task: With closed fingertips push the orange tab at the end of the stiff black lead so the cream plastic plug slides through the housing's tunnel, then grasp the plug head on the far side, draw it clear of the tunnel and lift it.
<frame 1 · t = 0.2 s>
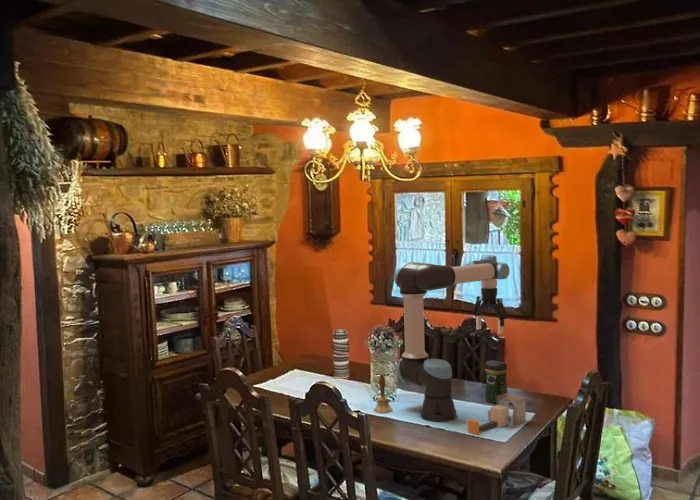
hand: (489, 331, 322), 28 cm above the table, fingers open, 13 cm apart
hand bell: (383, 410, 294), on the table
coffee jar: (496, 401, 302), on the table
decorative candle: (341, 377, 352), on the table
housing: (511, 420, 276), on the table
plug: (499, 424, 271), on the table
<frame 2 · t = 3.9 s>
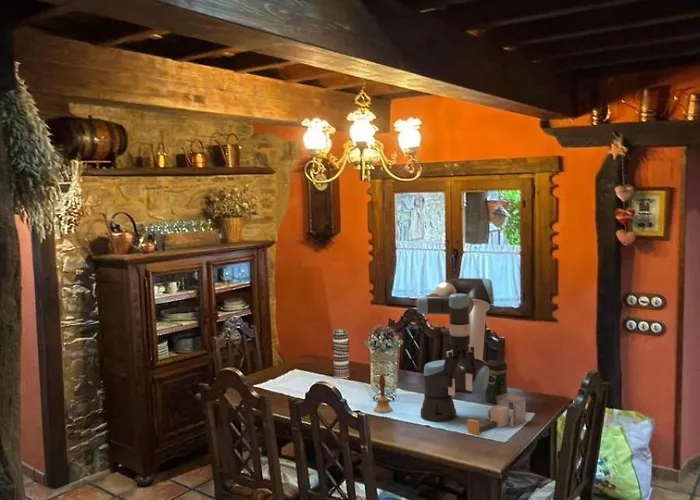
hand: (460, 392, 256), 17 cm above the table, fingers open, 9 cm apart
nothing on the table moved.
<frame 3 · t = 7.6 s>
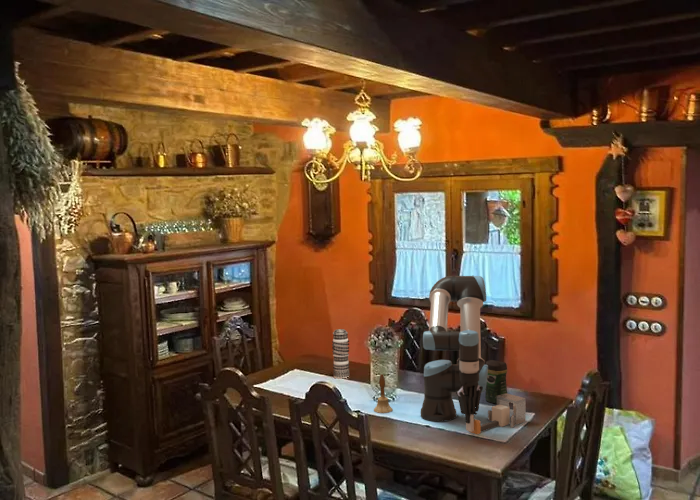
hand: (469, 430, 260), 1 cm above the table, fingers closed
plug: (500, 423, 272), on the table, touching gripper
everything else where it was.
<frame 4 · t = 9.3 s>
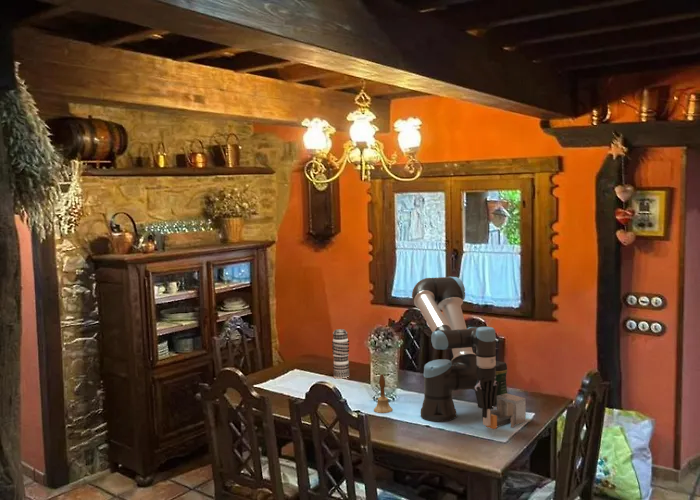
hand: (486, 424, 266), 2 cm above the table, fingers closed
plug: (516, 419, 277), on the table, touching gripper
everything else where it was.
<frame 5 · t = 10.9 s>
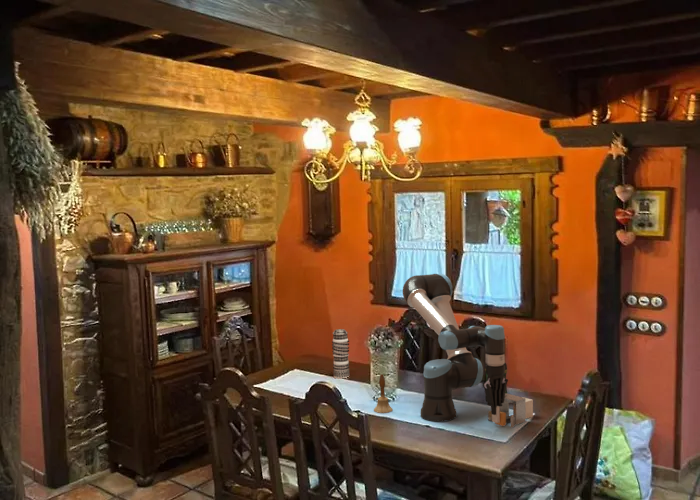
hand: (495, 421, 269), 2 cm above the table, fingers closed
plug: (524, 416, 280), on the table, touching gripper
everything else where it was.
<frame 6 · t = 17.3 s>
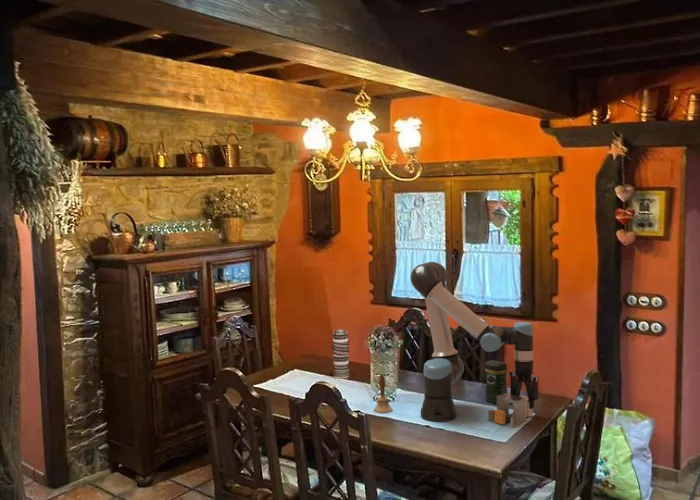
hand: (524, 414, 281), 1 cm above the table, fingers closed on plug, 5 cm apart
plug: (524, 414, 281), on the table, touching gripper
everything else where it was.
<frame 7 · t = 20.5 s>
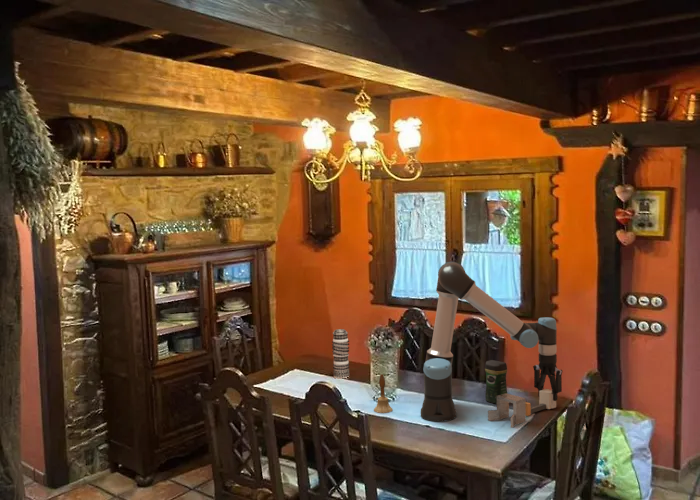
hand: (547, 406, 291), 1 cm above the table, fingers closed on plug, 5 cm apart
plug: (547, 406, 291), on the table, touching gripper
everything else where it was.
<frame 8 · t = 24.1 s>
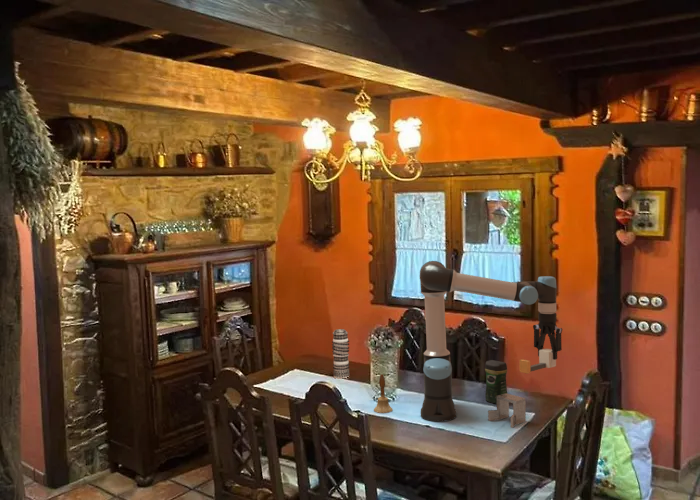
hand: (547, 365, 290), 19 cm above the table, fingers closed on plug, 5 cm apart
plug: (547, 366, 290), point 18 cm above the table, touching gripper
everything else where it was.
at the end: plug inside the target area (2.0 cm from its centre), point 18.4 cm above the table; the gripper is holding plug; plug touching gripper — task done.
